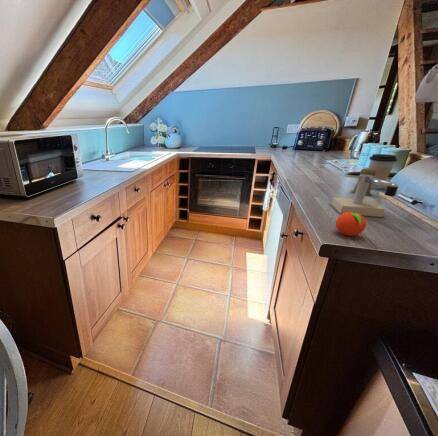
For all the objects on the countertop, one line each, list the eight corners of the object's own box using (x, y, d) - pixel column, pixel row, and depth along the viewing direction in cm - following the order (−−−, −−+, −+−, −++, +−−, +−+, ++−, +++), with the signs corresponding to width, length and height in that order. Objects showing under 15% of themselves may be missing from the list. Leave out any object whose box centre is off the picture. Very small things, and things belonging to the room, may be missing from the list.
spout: (399, 196, 75) (403, 184, 73) (386, 196, 75) (391, 184, 73) (364, 184, 87) (367, 174, 86) (353, 184, 88) (357, 174, 86)
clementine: (369, 242, 68) (378, 219, 65) (341, 240, 69) (348, 217, 66) (353, 230, 75) (360, 208, 72) (328, 228, 76) (334, 207, 73)
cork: (368, 192, 109) (377, 167, 104) (371, 196, 104) (380, 170, 100) (351, 190, 112) (359, 166, 107) (353, 194, 107) (361, 169, 103)
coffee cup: (386, 191, 109) (398, 157, 103) (359, 187, 115) (369, 155, 109) (386, 187, 116) (398, 154, 110) (361, 183, 122) (371, 153, 116)
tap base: (368, 207, 92) (378, 178, 88) (381, 217, 83) (393, 186, 79) (331, 204, 96) (338, 177, 91) (340, 213, 87) (349, 183, 83)
